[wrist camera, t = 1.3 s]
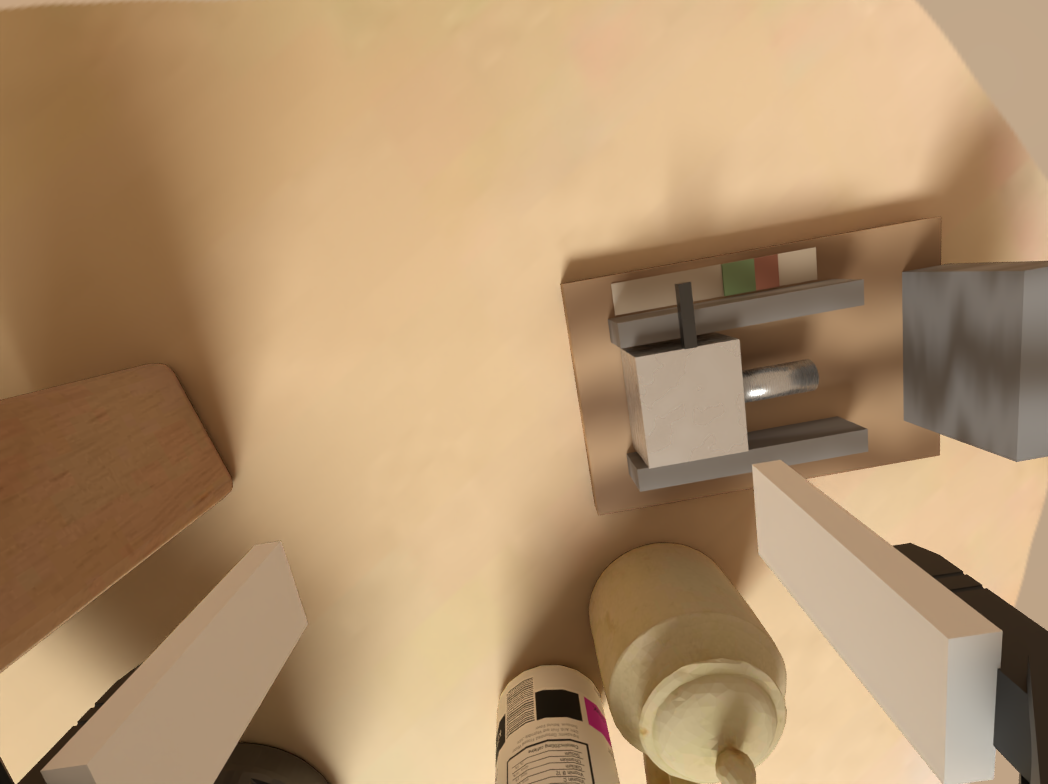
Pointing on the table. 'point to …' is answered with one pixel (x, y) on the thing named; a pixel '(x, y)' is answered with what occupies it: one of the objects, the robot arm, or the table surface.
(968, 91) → the table surface
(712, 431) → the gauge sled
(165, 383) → the block
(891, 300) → the gauge bed
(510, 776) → the supplement can
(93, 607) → the table surface
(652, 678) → the sugar bowl
